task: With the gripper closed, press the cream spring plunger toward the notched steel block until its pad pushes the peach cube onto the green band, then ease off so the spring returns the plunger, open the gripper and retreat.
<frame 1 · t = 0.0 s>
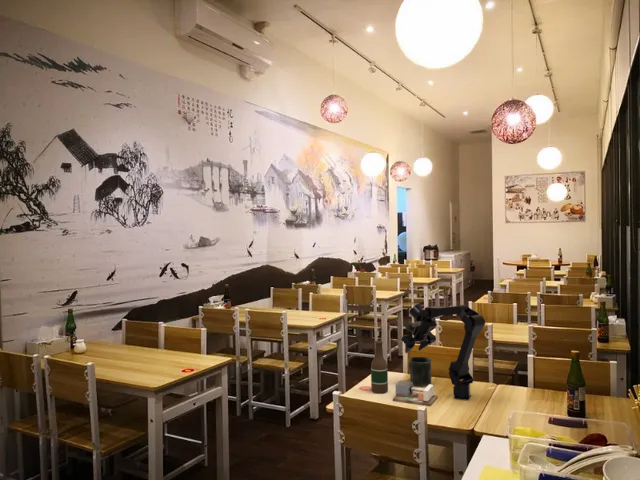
hand: (412, 351, 251), 15 cm above the table, tool tilted 35°, fingers open, 9 cm apart
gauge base: (415, 399, 225), on the table
beer bottle: (379, 391, 237), on the table
peach cube: (421, 396, 220), point 3 cm above the table, slide at 0.0 cm
notched steel block: (404, 396, 228), resting on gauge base
mug: (418, 383, 248), on the table
plunger: (420, 391, 224), point 4 cm above the table, slide at 0.0 cm
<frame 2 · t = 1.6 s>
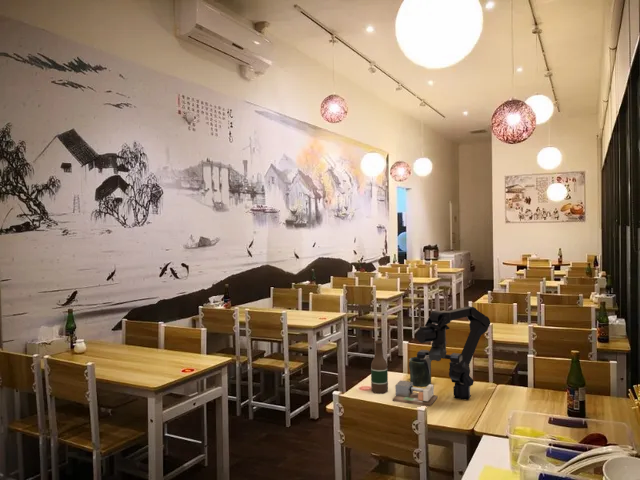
hand: (439, 375, 219), 12 cm above the table, tool pointing down, fingers open, 9 cm apart
nothing on the table moved.
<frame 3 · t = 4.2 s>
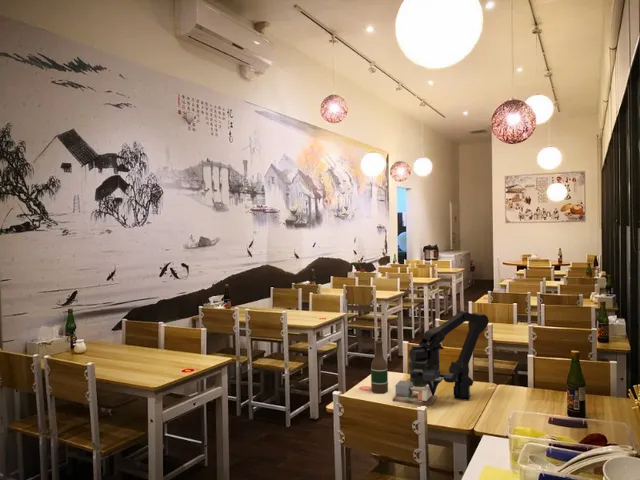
hand: (433, 395, 221), 3 cm above the table, tool pointing down, fingers closed
peach cube: (420, 396, 220), point 3 cm above the table, slide at 0.3 cm, touching plunger
plunger: (419, 391, 224), point 4 cm above the table, slide at 0.6 cm, touching gripper, peach cube
everything else where it was.
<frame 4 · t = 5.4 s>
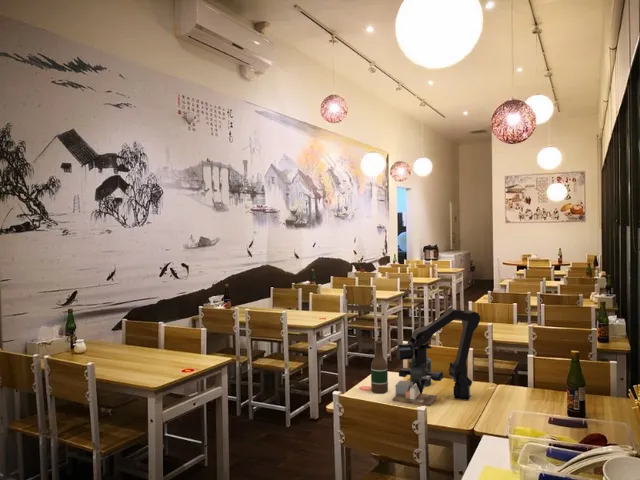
hand: (421, 393, 223), 3 cm above the table, tool pointing down, fingers closed
peach cube: (408, 394, 223), point 3 cm above the table, slide at 5.7 cm, touching plunger
plunger: (407, 389, 226), point 4 cm above the table, slide at 6.0 cm, touching gripper, peach cube
everything else where it was.
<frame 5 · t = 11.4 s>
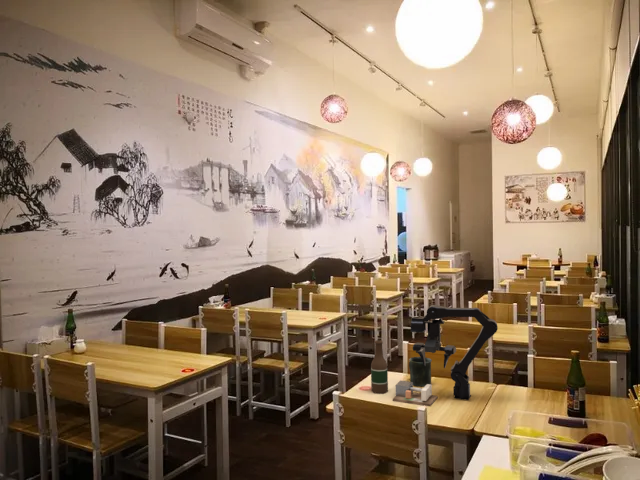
hand: (434, 367, 229), 13 cm above the table, tool pointing down, fingers open, 9 cm apart
peach cube: (408, 394, 223), point 3 cm above the table, slide at 5.8 cm
plunger: (418, 391, 224), point 4 cm above the table, slide at 0.9 cm
everything else where it was.
at the end: peach cube slide at 5.8 cm; plunger slide at 0.9 cm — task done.
